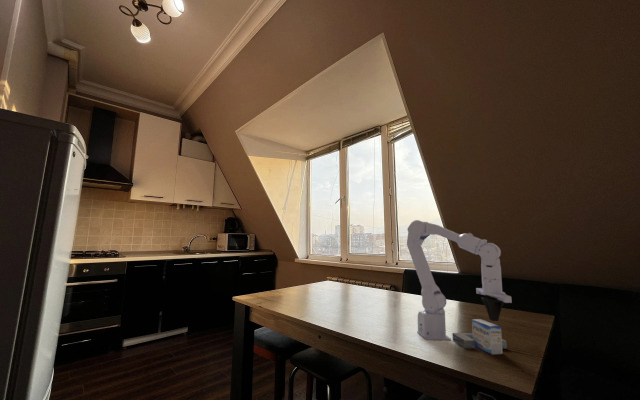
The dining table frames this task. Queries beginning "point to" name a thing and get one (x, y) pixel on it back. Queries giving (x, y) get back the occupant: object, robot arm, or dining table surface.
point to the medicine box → (487, 336)
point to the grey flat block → (469, 340)
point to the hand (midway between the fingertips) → (494, 320)
